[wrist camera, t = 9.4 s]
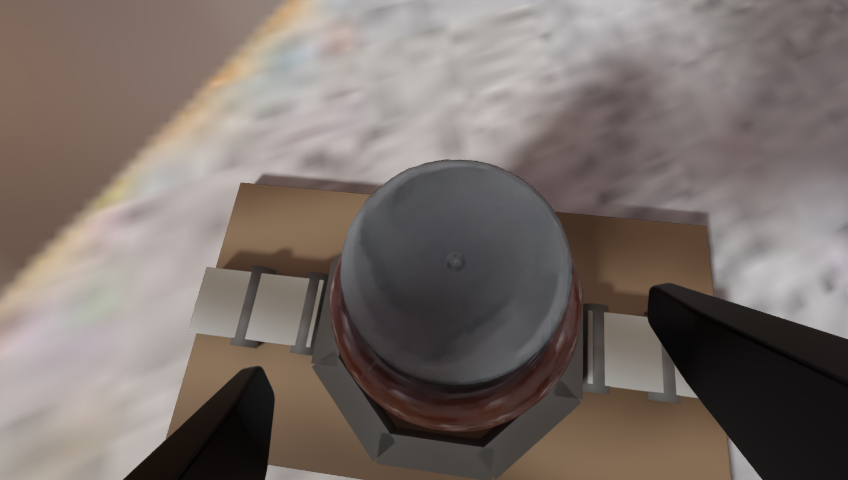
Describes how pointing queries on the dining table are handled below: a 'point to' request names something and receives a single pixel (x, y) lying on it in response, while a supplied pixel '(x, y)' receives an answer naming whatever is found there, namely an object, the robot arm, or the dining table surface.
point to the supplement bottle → (456, 296)
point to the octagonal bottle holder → (447, 450)
